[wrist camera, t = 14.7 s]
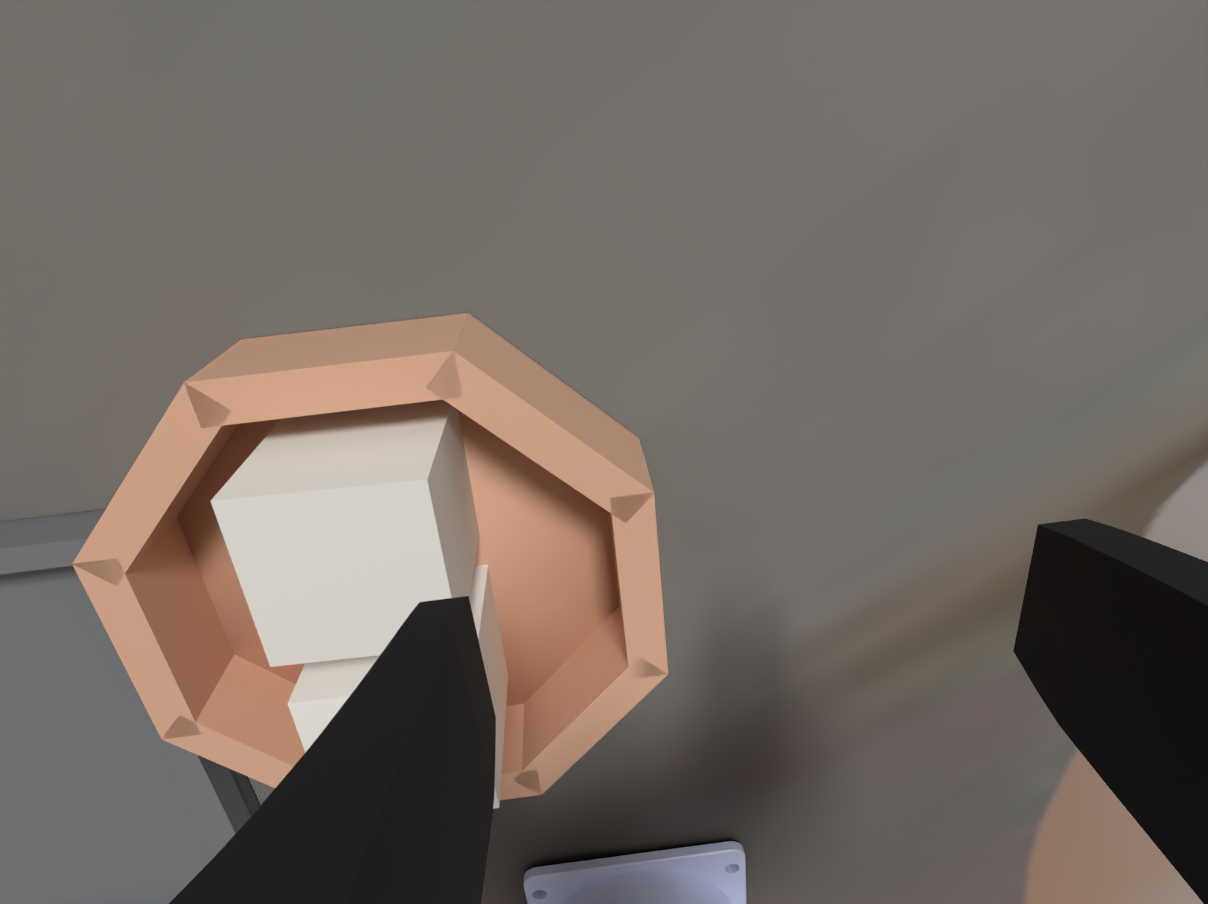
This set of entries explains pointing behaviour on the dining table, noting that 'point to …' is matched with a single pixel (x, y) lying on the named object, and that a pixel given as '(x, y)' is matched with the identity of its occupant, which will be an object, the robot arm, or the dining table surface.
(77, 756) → the tray
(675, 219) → the dining table surface
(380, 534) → the off-white cube
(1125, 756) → the robot arm
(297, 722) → the white block
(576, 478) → the bowl
